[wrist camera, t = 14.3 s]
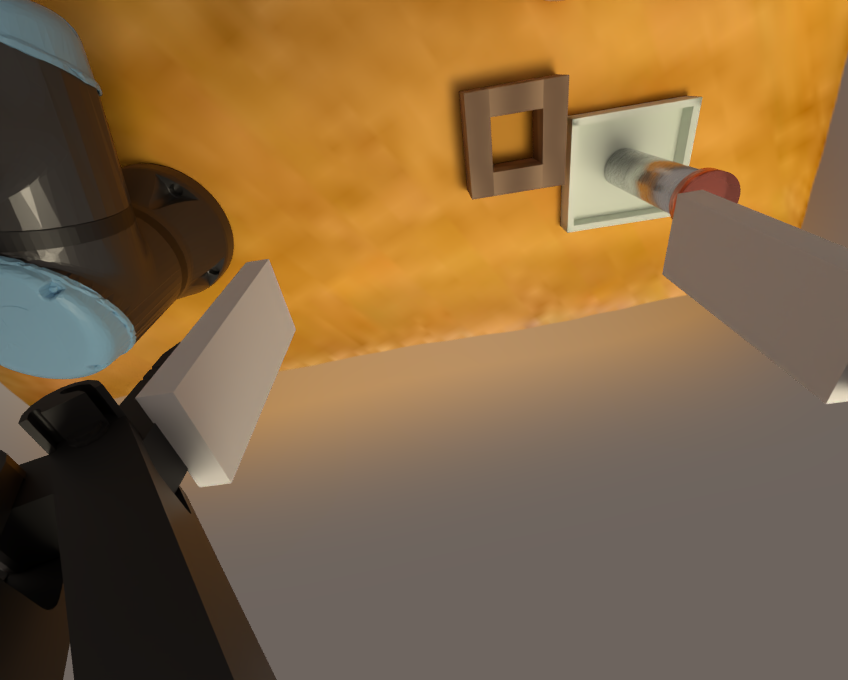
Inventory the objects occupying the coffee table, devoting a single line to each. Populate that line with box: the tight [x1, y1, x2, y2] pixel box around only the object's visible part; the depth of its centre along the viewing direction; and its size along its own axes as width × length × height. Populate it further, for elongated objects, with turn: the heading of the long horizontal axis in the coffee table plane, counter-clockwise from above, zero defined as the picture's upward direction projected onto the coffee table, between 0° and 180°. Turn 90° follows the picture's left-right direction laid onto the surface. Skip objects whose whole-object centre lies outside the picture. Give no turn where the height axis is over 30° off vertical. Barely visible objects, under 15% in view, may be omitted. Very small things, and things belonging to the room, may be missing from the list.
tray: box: [560, 96, 702, 233], centre depth 46 cm, size 13×12×3 cm
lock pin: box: [604, 148, 740, 219], centre depth 40 cm, size 5×5×16 cm
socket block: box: [459, 74, 569, 199], centre depth 43 cm, size 10×10×4 cm
